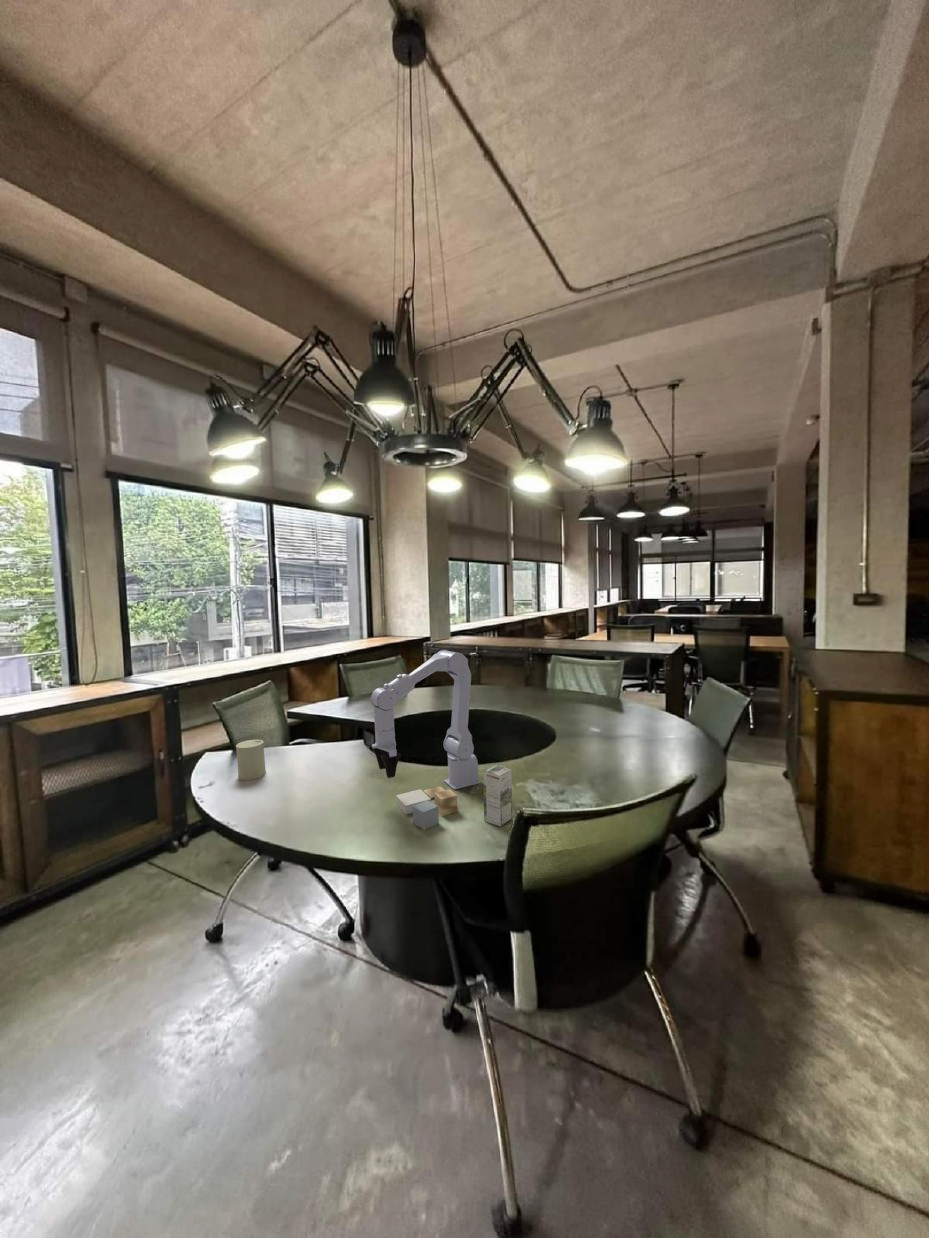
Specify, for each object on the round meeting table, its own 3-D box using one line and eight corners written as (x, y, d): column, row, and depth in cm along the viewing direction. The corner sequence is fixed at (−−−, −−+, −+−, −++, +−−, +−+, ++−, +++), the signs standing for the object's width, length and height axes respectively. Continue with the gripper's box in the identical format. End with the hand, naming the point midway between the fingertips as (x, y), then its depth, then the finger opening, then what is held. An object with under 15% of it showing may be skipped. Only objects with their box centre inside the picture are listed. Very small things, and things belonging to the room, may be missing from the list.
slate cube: (427, 817, 140) (426, 800, 139) (438, 823, 136) (438, 806, 136) (413, 823, 137) (412, 806, 136) (424, 830, 133) (423, 812, 132)
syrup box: (496, 813, 141) (494, 764, 139) (513, 819, 137) (511, 768, 136) (483, 821, 136) (482, 770, 135) (501, 827, 132) (499, 775, 131)
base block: (421, 798, 153) (420, 789, 153) (431, 808, 146) (430, 799, 146) (396, 804, 149) (396, 795, 149) (405, 815, 142) (405, 805, 142)
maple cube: (450, 805, 147) (449, 789, 146) (457, 812, 142) (457, 795, 142) (434, 809, 145) (434, 792, 144) (441, 816, 140) (441, 799, 140)
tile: (441, 787, 160) (441, 785, 160) (450, 795, 154) (450, 793, 154) (421, 792, 157) (421, 790, 157) (430, 800, 151) (430, 798, 150)
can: (270, 774, 176) (268, 741, 175) (244, 782, 169) (242, 748, 168) (259, 767, 182) (257, 736, 182) (233, 775, 176) (231, 742, 175)
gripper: (364, 724, 151) (367, 767, 153) (378, 737, 139) (381, 784, 140) (387, 720, 155) (389, 762, 156) (402, 733, 142) (404, 778, 143)
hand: (387, 772), depth 148 cm, fingers open, 7 cm apart
